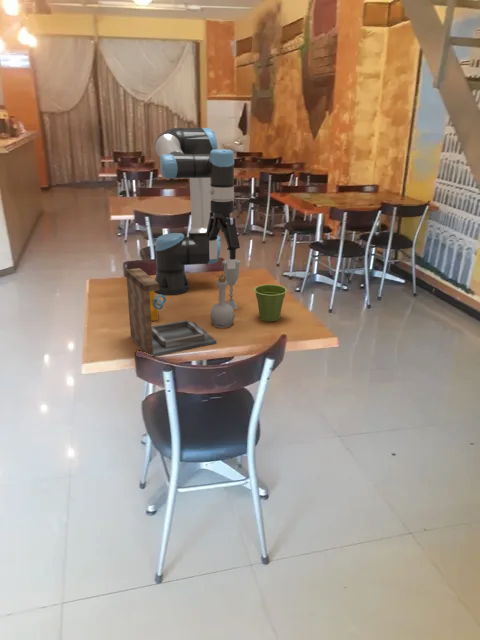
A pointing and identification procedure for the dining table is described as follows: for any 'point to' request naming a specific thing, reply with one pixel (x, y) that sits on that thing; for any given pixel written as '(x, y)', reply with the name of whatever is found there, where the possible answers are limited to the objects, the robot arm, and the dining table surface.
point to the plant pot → (270, 301)
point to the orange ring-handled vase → (155, 305)
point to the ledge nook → (158, 336)
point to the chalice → (231, 280)
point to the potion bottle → (222, 307)
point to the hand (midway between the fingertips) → (222, 263)
